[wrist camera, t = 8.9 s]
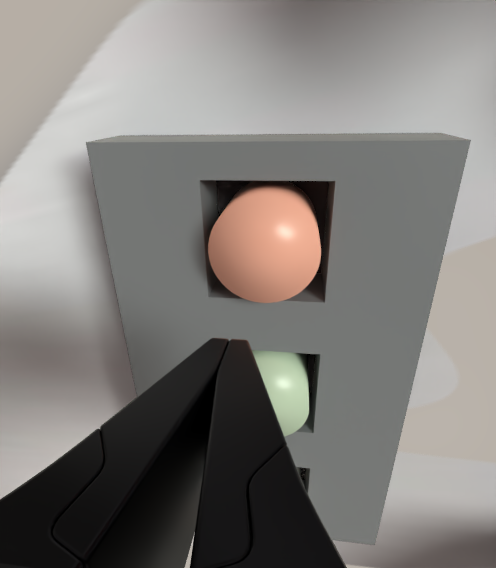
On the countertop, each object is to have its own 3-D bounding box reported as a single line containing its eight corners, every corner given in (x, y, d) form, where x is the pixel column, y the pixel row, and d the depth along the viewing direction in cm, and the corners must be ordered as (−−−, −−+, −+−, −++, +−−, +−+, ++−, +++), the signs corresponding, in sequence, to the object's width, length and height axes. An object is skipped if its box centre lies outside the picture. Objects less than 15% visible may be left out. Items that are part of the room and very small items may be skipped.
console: (440, 133, 15) (470, 140, 13) (366, 499, 26) (374, 545, 23) (119, 135, 17) (85, 142, 14) (175, 478, 28) (161, 519, 25)
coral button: (320, 178, 16) (325, 198, 13) (314, 269, 18) (317, 305, 15) (222, 178, 17) (204, 196, 14) (226, 266, 19) (211, 300, 16)
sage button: (309, 330, 20) (311, 374, 17) (305, 392, 22) (306, 442, 19) (229, 325, 20) (216, 367, 17) (232, 386, 22) (221, 434, 19)
